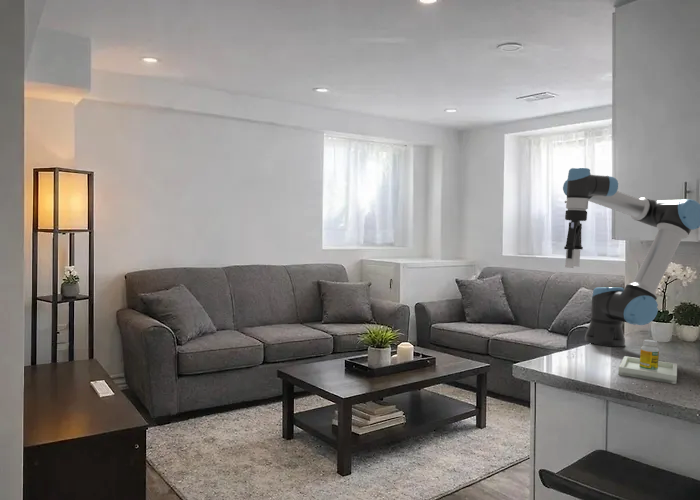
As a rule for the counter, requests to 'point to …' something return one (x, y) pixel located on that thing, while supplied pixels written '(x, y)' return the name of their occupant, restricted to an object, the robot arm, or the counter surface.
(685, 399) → the counter surface
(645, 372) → the tray
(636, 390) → the counter surface
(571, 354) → the counter surface
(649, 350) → the supplement bottle
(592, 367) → the counter surface
